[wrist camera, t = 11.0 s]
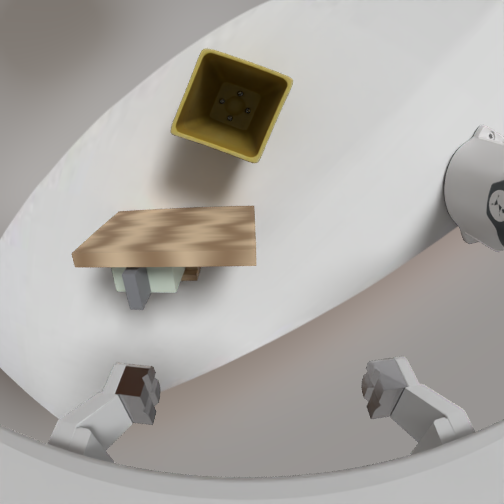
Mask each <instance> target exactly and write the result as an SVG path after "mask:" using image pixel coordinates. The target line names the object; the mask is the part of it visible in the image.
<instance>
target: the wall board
mask: <svg viewBox="0 0 504 504" xmlns="http://www.w3.org/2000/svg"><path fill="white" fill-rule="evenodd" d="M72 258H73V261H74V265H75V267H186V268H185V271H184V273H183V276H182V279H181V281H197V279H198V276H199V273H200V269H201V267H205V266H256V237H255V213H254V206H224V207H195V208H172V209H153V210H136V211H120V212H118V213H117V214H115V215H114V216H113V217H112V218H111V219H110V220H108V221H107V222H106V223H105V224H104V225H103V226H101V227H100V228H99V229H98V230H97V231H96V232H95V233H94V234H92V235H91V236H90V237H89V238H88V239H87V240H86V241H85V242H84V243H82V244H81V245H80V246H79V247H78V248H77V249H76V250H75V251H74V252H73V253H72Z"/></svg>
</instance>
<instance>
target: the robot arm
mask: <svg viewBox="0 0 504 504" xmlns="http://www.w3.org/2000/svg"><path fill="white" fill-rule="evenodd" d="M489 134H490V137H489ZM444 194H445V202H446V206H447V209H448V212H449V214H450V216H451V218H452V219H453V221H454V222H455V223H456V224H457V225H458V226H459V228H460V230H461V234H462V238H463V240H464V241H465V242H466V243H468V244H472V243H476V242H481V243H482V244H484V245H485V246H487V247H489V248H490V249H492V250H494V251H496V252H499V251H502V250H504V136H502V135H501V134H499V133H498V132H496V131H495V130H493V129H491V128H490V127H488V126H485V125H480V126H479V127H478V129H477V130H476V132H475V134H474V136H473V137H472V138H471V139H470V140H469V141H467V142H466V143H464V144H463V145H462V146H461V147H460V148H459V149H458V150H457V151H456V153H455V154H454V156H453V157H452V159H451V161H450V164H449V166H448V169H447V173H446V178H445V186H444ZM366 369H367V373H366V374H365V375H364V376H363V379H362V393H363V396H364V398H365V399H366V400H368V401H369V402H368V405H367V408H368V412H369V415H370V418H371V419H376V418H382V417H388V416H390V417H391V418H392V419H393V420H394V421H395V422H396V423H397V424H398V425H400V426H401V427H402V428H403V429H404V430H405V431H406V432H407V433H408V434H409V435H410V436H412V437H413V438H414V439H415V440H416V441H417V442H418V444H417V445H416V447H415V448H414V450H413V451H412V452H411V455H408V456H405V457H401V458H397V459H393V460H389V461H385V462H381V463H377V464H372V465H367V466H362V467H357V468H351V469H345V470H338V471H332V472H324V473H316V474H307V475H297V476H296V475H295V476H280V477H211V476H197V475H186V474H185V475H184V474H176V473H168V472H161V471H153V470H147V469H141V468H136V467H131V466H125V465H120V464H116V463H114V461H113V459H112V458H111V457H110V456H109V454H108V453H107V452H106V450H107V449H108V448H109V447H110V446H111V445H112V444H113V443H114V442H115V441H116V440H117V439H118V438H119V437H120V436H121V435H122V434H123V433H124V432H125V431H126V430H127V429H128V428H129V427H130V426H131V425H132V424H133V423H140V424H149V425H153V422H154V419H155V415H156V410H155V407H154V406H155V405H156V404H157V403H159V399H160V385H159V381H158V380H157V379H156V378H155V373H156V372H155V370H154V367H152V366H144V365H135V364H126V363H118V362H117V363H116V364H115V365H114V366H113V369H112V371H111V373H110V375H109V378H108V380H107V382H106V384H105V387H104V389H103V391H102V392H98V393H97V394H95V395H94V396H92V397H91V398H89V399H88V400H87V401H85V402H84V403H82V404H81V405H79V406H78V407H77V408H75V409H74V410H72V411H71V412H69V413H68V414H66V415H65V416H64V417H62V418H61V419H59V420H58V422H57V424H56V426H55V429H54V431H53V433H52V435H51V437H50V440H49V442H48V444H46V443H43V442H41V441H38V440H35V439H33V438H31V437H28V436H26V435H23V434H20V433H18V432H16V431H14V430H12V429H9V428H7V427H5V426H3V425H1V424H0V504H504V419H503V420H501V421H499V422H497V423H495V424H492V425H491V426H488V427H486V428H484V429H481V430H479V431H477V432H475V430H474V428H473V426H472V424H471V422H470V420H469V418H468V416H467V414H466V413H465V411H464V409H462V408H460V407H459V406H457V405H456V404H454V403H452V402H451V401H449V400H448V399H446V398H444V397H443V396H441V395H440V394H438V393H437V392H435V391H433V390H432V389H430V388H429V387H427V386H426V385H424V384H420V383H419V381H418V380H417V378H416V376H415V374H414V372H413V370H412V368H411V366H410V364H409V362H408V361H407V359H406V357H404V356H401V357H394V358H388V359H381V360H374V361H369V362H368V364H367V367H366Z"/></svg>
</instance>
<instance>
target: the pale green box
mask: <svg viewBox="0 0 504 504" xmlns="http://www.w3.org/2000/svg"><path fill="white" fill-rule="evenodd" d="M185 268H186V267H111V270H112V274H113V278H114V282H115V286H116V290H117V292H126V294H127V298H128V302H129V306H130V309H138V310H143V309H144V307H145V305H146V302H147V300H148V298H149V296H150V294H151V292H159V293H176V292H177V289H178V286H179V284H180V281H181V279H182V276H183V273H184V271H185Z"/></svg>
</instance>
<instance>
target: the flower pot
mask: <svg viewBox="0 0 504 504" xmlns="http://www.w3.org/2000/svg"><path fill="white" fill-rule="evenodd" d="M292 85H293V80H292V78H290V77H288V76H286V75H284V74H281V73H279V72H276V71H273V70H271V69H268V68H265V67H263V66H260V65H257V64H254V63H252V62H249V61H246V60H243V59H240V58H237V57H234V56H231V55H228V54H226V53H222V52H219V51H216V50H212V49H203V50H202V51H201V53H200V55H199V58H198V60H197V63H196V65H195V68H194V71H193V73H192V75H191V78H190V81H189V83H188V86H187V88H186V91H185V93H184V96H183V98H182V101H181V103H180V105H179V108H178V111H177V113H176V116H175V118H174V120H173V123H172V126H171V134H173V135H175V136H178V137H181V138H184V139H188V140H190V141H193V142H197V143H200V144H203V145H205V146H208V147H211V148H214V149H216V150H219V151H222V152H225V153H228V154H230V155H233V156H235V157H238V158H241V159H243V160H246V161H248V162H251V163H257V162H258V161H259V160H260V158H261V156H262V154H263V151H264V149H265V146H266V144H267V141H268V139H269V137H270V134H271V132H272V130H273V127H274V125H275V123H276V121H277V118H278V116H279V114H280V111H281V109H282V107H283V105H284V103H285V101H286V98H287V96H288V94H289V92H290V90H291V87H292ZM240 91H241V92H242V93H243V95H242V96H239V95H238V92H240ZM221 99H224V100H225V102H224V103H223V104H221V103H220V100H221ZM248 108H249V109H250V110H251V111H250V113H247V112H246V109H248ZM228 116H232V120H231V121H230V120H228Z"/></svg>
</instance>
